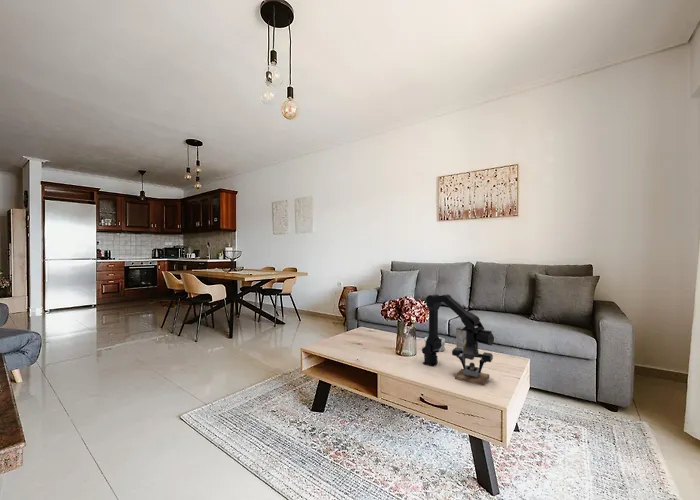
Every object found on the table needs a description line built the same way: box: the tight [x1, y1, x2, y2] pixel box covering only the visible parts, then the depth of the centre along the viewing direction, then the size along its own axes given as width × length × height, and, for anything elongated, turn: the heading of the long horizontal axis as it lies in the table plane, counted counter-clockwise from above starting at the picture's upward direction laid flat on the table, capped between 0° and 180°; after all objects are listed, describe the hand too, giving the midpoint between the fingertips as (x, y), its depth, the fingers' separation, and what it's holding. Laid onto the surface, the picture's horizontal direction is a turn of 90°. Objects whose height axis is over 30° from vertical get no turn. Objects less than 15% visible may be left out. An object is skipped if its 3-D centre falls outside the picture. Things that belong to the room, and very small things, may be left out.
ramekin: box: [423, 336, 446, 353], centre depth 208 cm, size 13×13×7 cm
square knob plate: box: [454, 362, 490, 386], centre depth 162 cm, size 14×12×8 cm
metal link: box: [462, 364, 482, 377], centre depth 162 cm, size 7×7×2 cm
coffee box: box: [455, 326, 466, 351], centre depth 199 cm, size 9×6×16 cm
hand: (472, 371), depth 162 cm, fingers closed on metal link, 7 cm apart
